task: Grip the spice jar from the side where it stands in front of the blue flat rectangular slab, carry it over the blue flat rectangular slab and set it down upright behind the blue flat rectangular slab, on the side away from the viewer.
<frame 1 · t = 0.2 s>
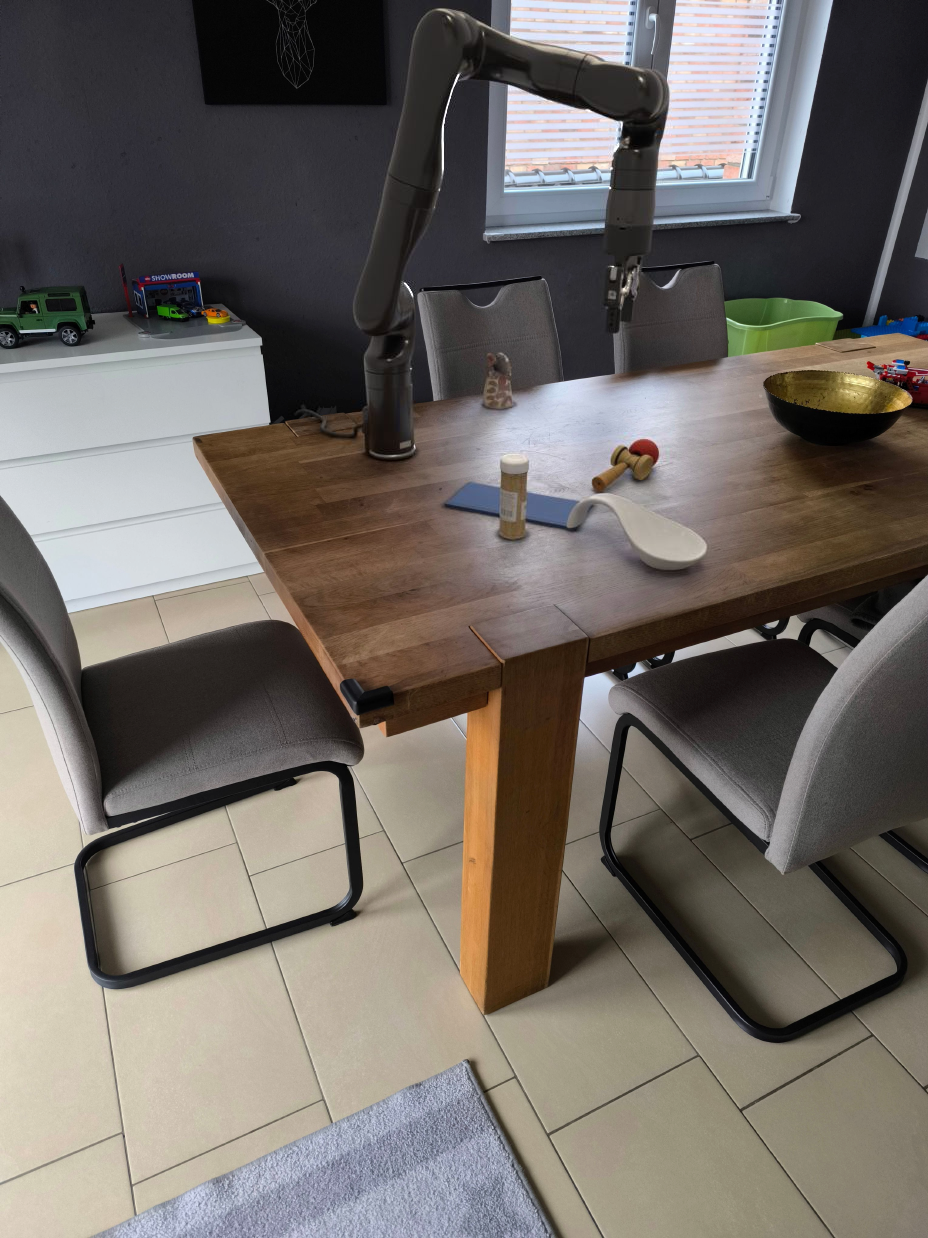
hand: (618, 326, 139), 29 cm above the table, tool pointing down, fingers open, 8 cm apart
blue flat rectangular slab: (518, 506, 148), on the table
spoon rest: (631, 550, 134), on the table, touching blue flat rectangular slab
spice jar: (512, 535, 139), on the table
figurine: (498, 405, 197), on the table
kendama: (624, 479, 159), on the table
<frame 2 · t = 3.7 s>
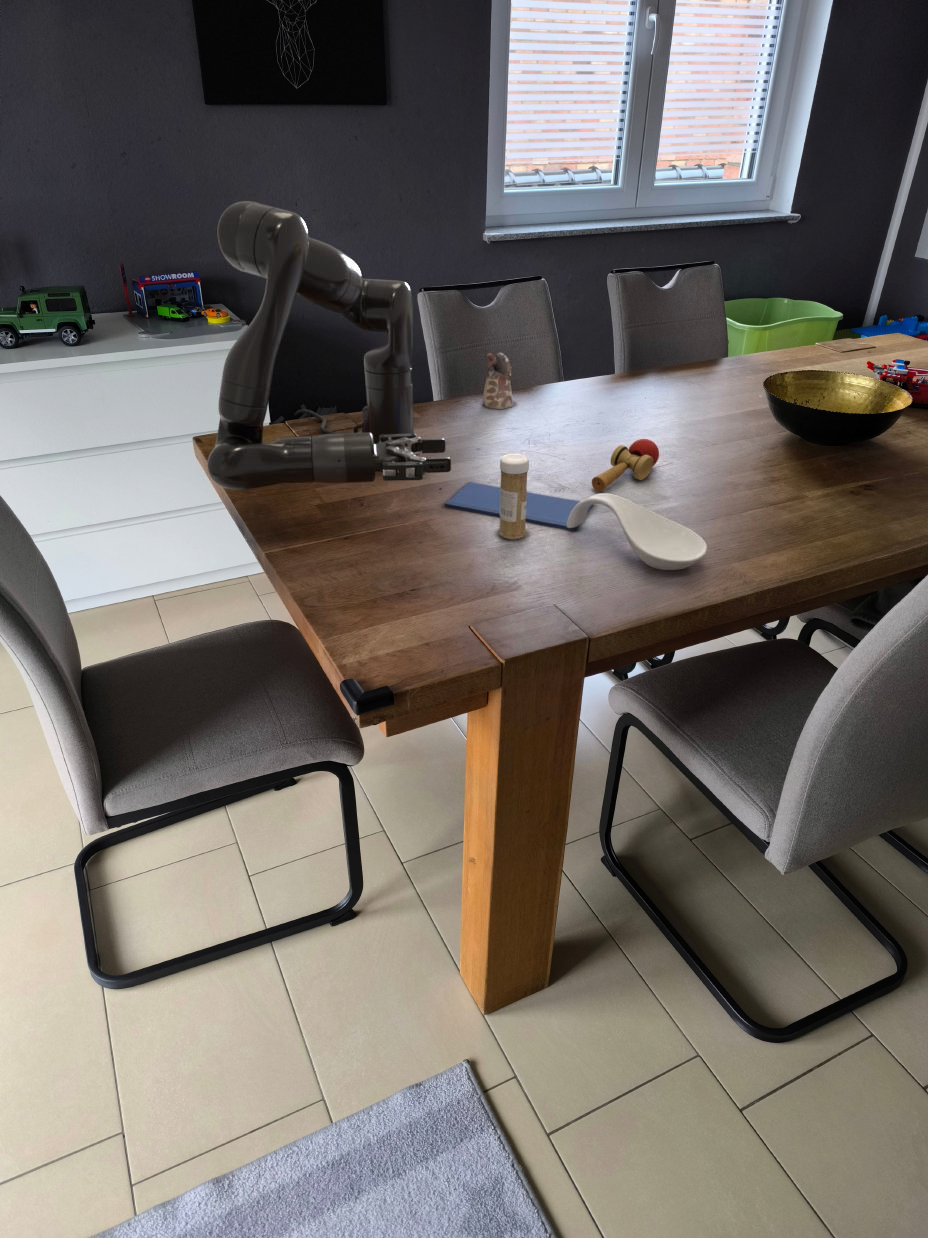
hand: (447, 454, 130), 14 cm above the table, tool horizontal, fingers open, 8 cm apart
nothing on the table moved.
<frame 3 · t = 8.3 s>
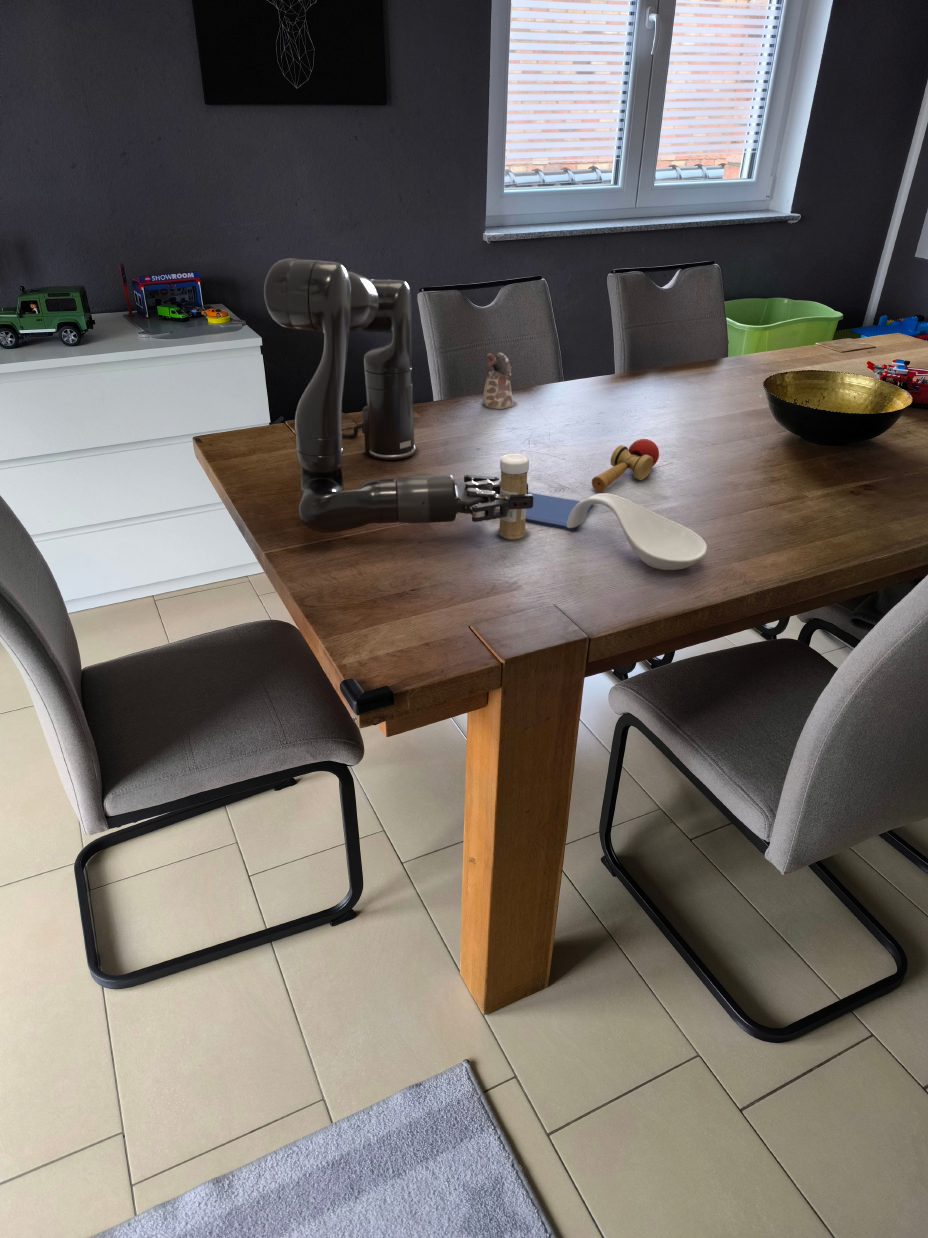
hand: (529, 494, 135), 7 cm above the table, tool horizontal, fingers closed on spice jar, 4 cm apart
spice jar: (512, 535, 139), on the table, touching gripper
everything else where it was.
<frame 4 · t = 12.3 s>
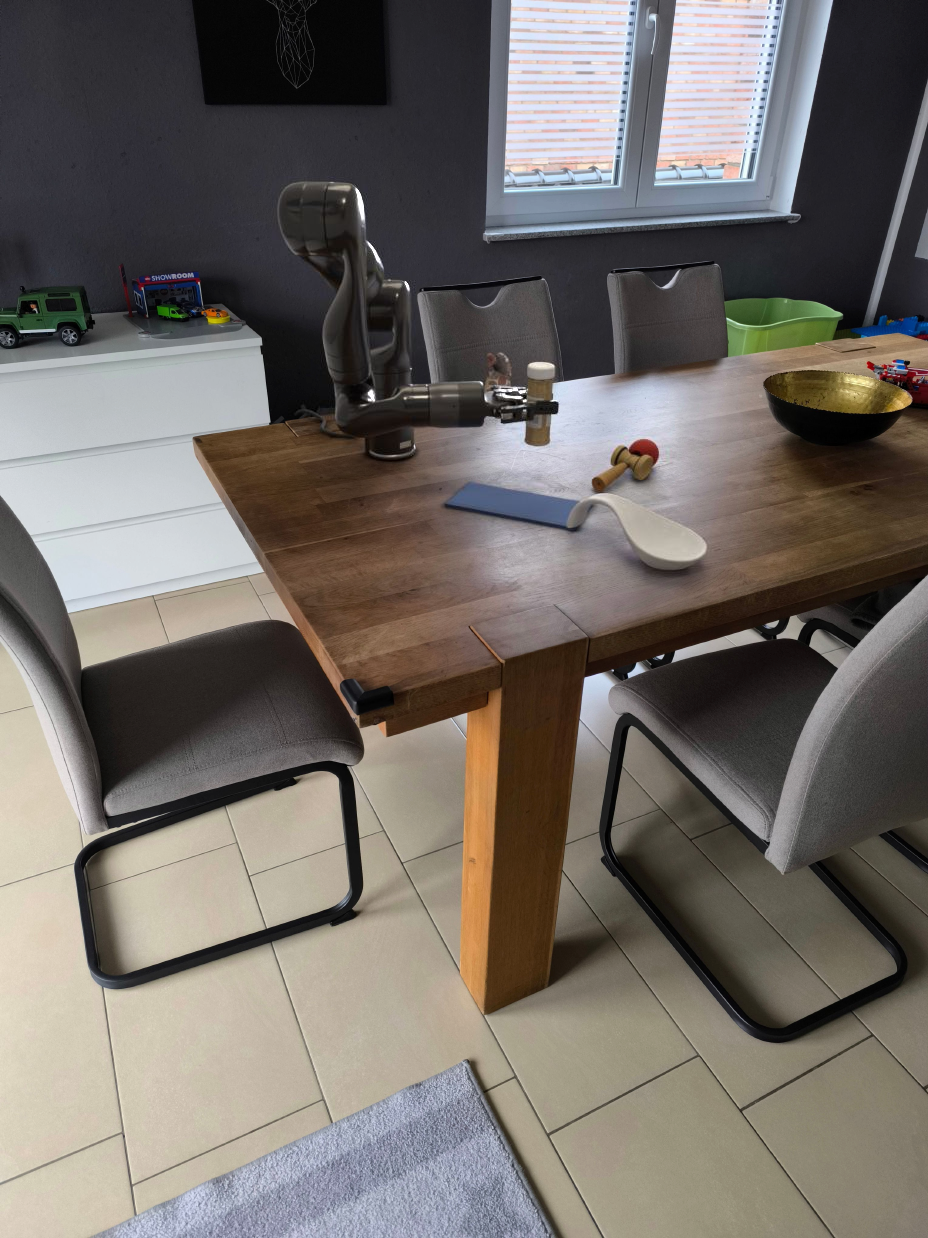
hand: (554, 402, 141), 18 cm above the table, tool horizontal, fingers closed on spice jar, 4 cm apart
spice jar: (536, 443, 145), point 11 cm above the table, touching gripper
everything else where it was.
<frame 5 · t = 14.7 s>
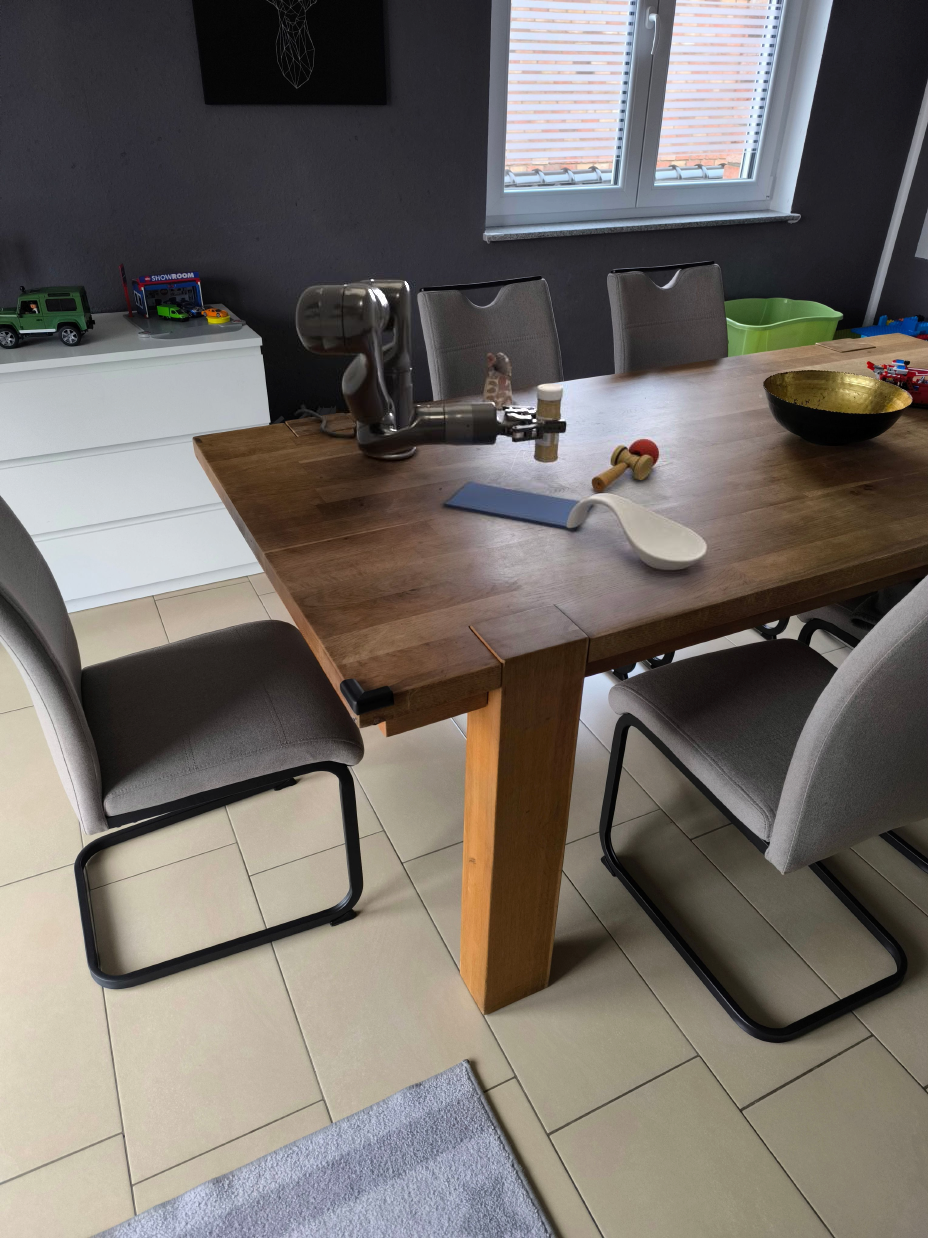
hand: (562, 421, 150), 12 cm above the table, tool horizontal, fingers closed on spice jar, 4 cm apart
spice jar: (545, 460, 154), point 5 cm above the table, touching gripper
everything else where it was.
when the fingers open (7 cm above the table, at t = 16.5 s): spice jar stays where it is, on the table.
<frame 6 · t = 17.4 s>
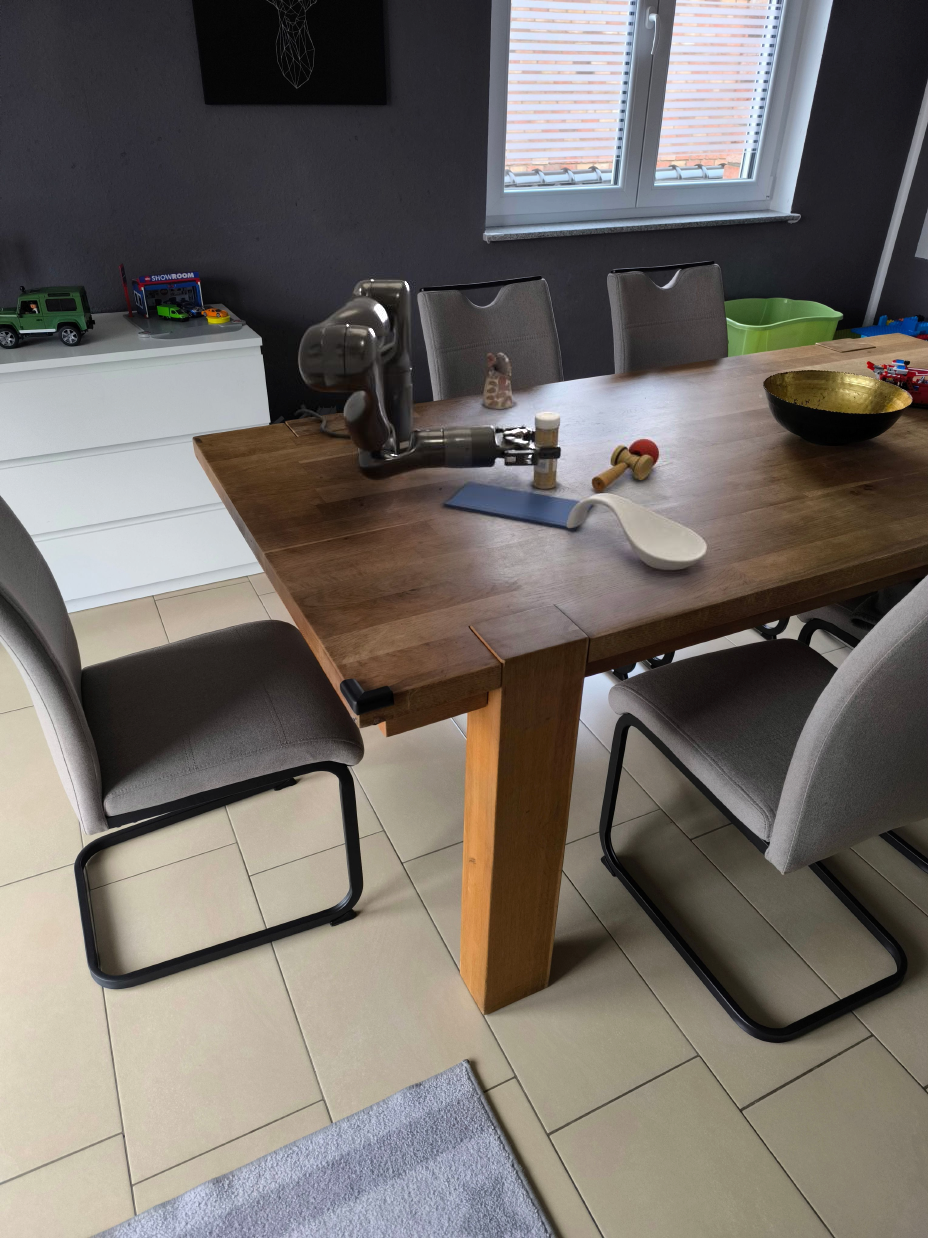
hand: (555, 443, 152), 8 cm above the table, tool horizontal, fingers open, 8 cm apart
spice jar: (544, 485, 156), on the table
everything else where it was.
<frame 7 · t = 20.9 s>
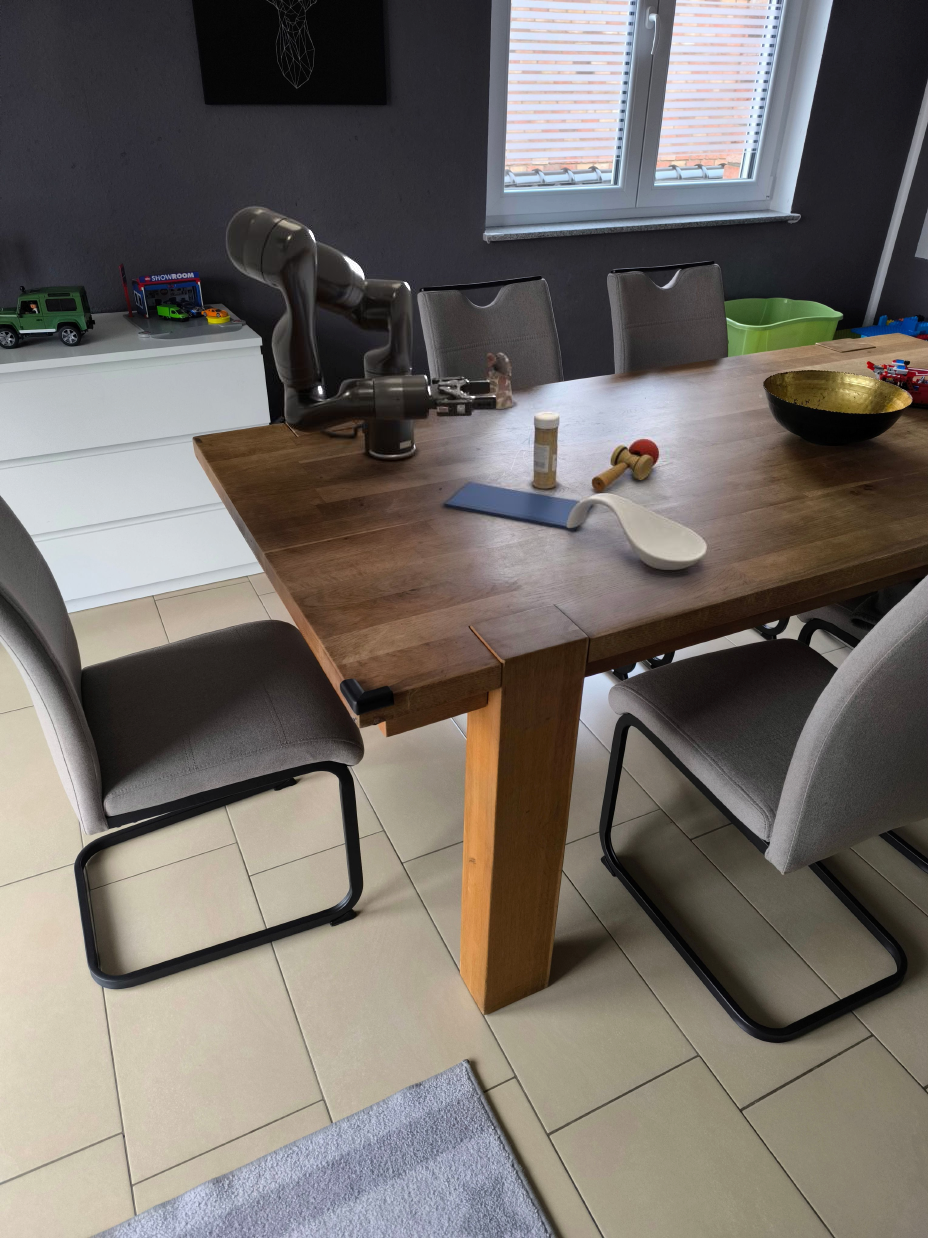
hand: (493, 394, 146), 17 cm above the table, tool horizontal, fingers open, 8 cm apart
nothing on the table moved.
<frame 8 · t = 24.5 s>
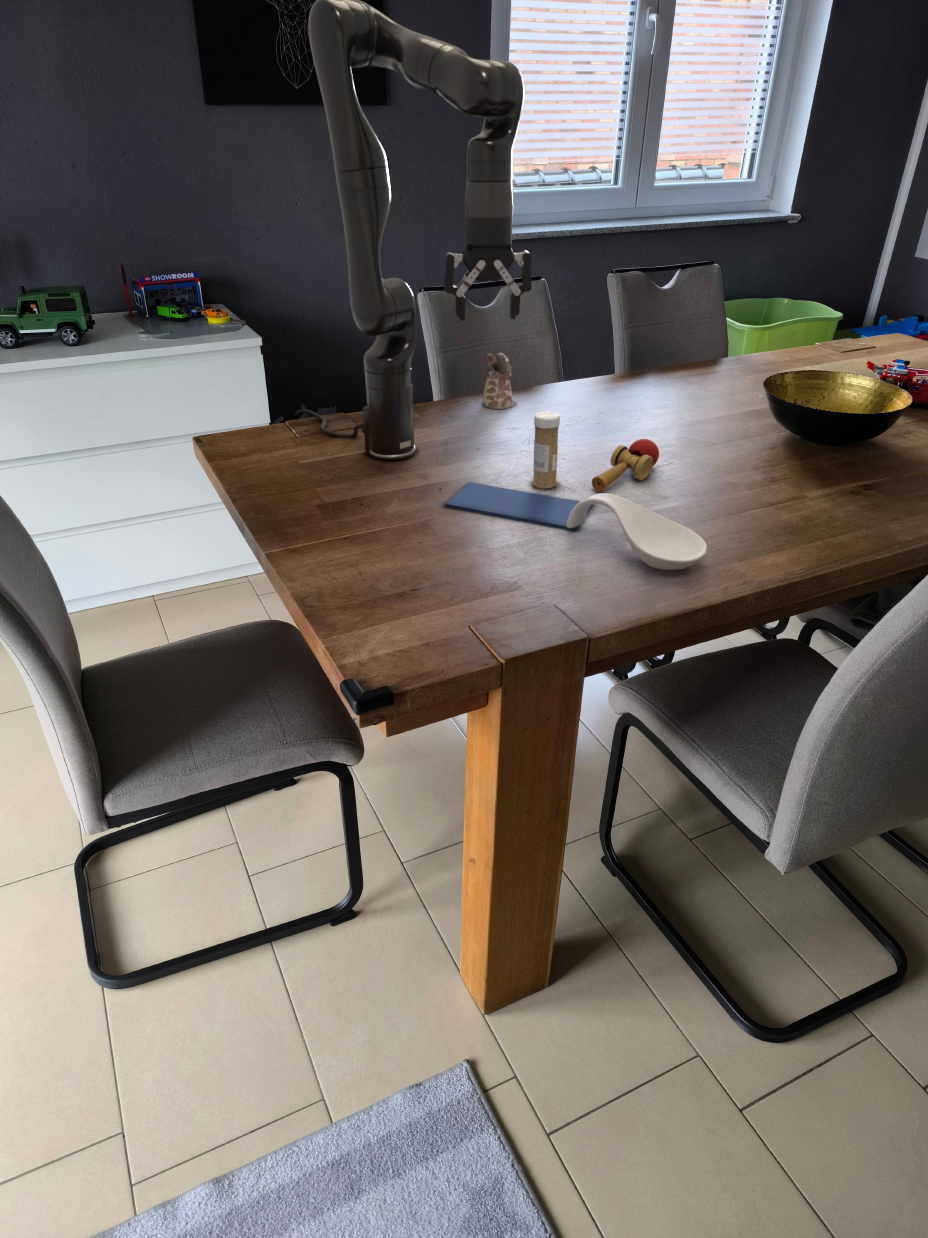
hand: (487, 318, 140), 30 cm above the table, tool pointing down, fingers open, 8 cm apart
nothing on the table moved.
at the end: spice jar inside the target area on the table beside the blue flat rectangular slab (1.1 cm from its centre), on the table; spice jar tilted 1°; the gripper is holding nothing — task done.
